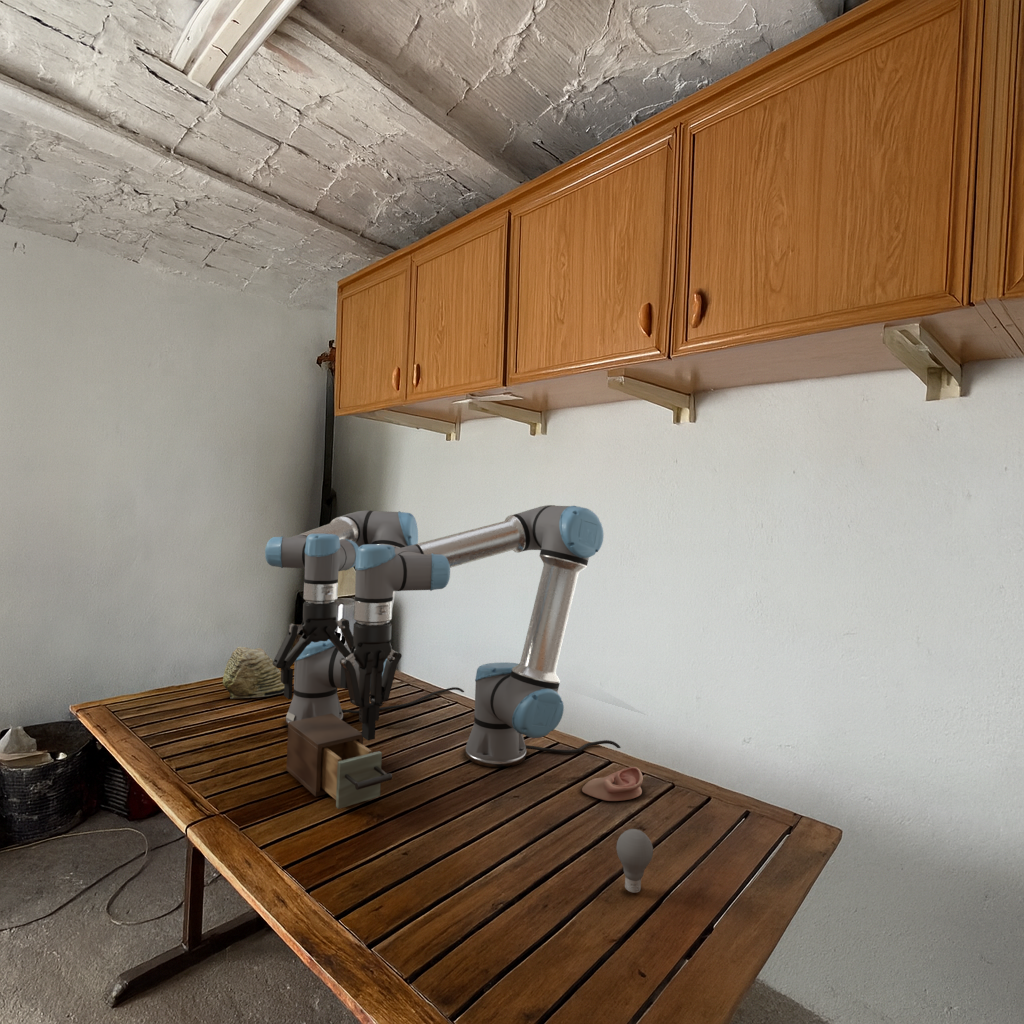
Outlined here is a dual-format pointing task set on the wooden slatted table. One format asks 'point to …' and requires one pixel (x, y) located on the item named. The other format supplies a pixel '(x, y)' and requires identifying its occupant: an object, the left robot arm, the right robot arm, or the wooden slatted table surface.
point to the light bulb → (634, 857)
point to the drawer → (351, 773)
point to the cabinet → (315, 747)
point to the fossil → (251, 674)
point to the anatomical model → (616, 785)
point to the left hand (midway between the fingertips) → (316, 692)
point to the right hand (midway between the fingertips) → (368, 737)
